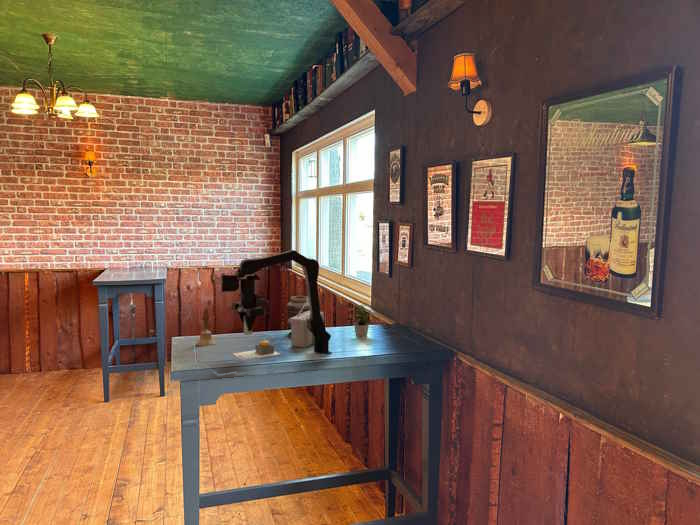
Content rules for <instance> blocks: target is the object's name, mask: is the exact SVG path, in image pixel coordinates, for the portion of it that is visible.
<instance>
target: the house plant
mask: <svg viewBox="0 0 700 525" xmlns="http://www.w3.org/2000/svg"><path fill="white" fill-rule="evenodd" d="M364 305H365V304H360V306H359V304H356V307H357V310H356V309H354V308H351V306H348V307H349V308H351V311H353V313H354V314H355V316H356V317H355V316H352V315H350V317H349V318H348V319H351V318H352V319H353V320H354V321H356V322H355V323H354V324H353V325H354V332H355V334H354V335H355V338H356V337H358V338H357V339H364V338H363V337H367V338H368V333H369V327H370V323H368V322H369V321H371V320H373V319H374V318H373V319H370V318H371V317H370V314H369V313H370V312H371V311H372V310H373V309H372V308H370V309H369V311H368V312H367V313H366V308H365V306H364ZM365 313H366V315H365ZM373 321H374V320H373Z"/></svg>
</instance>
